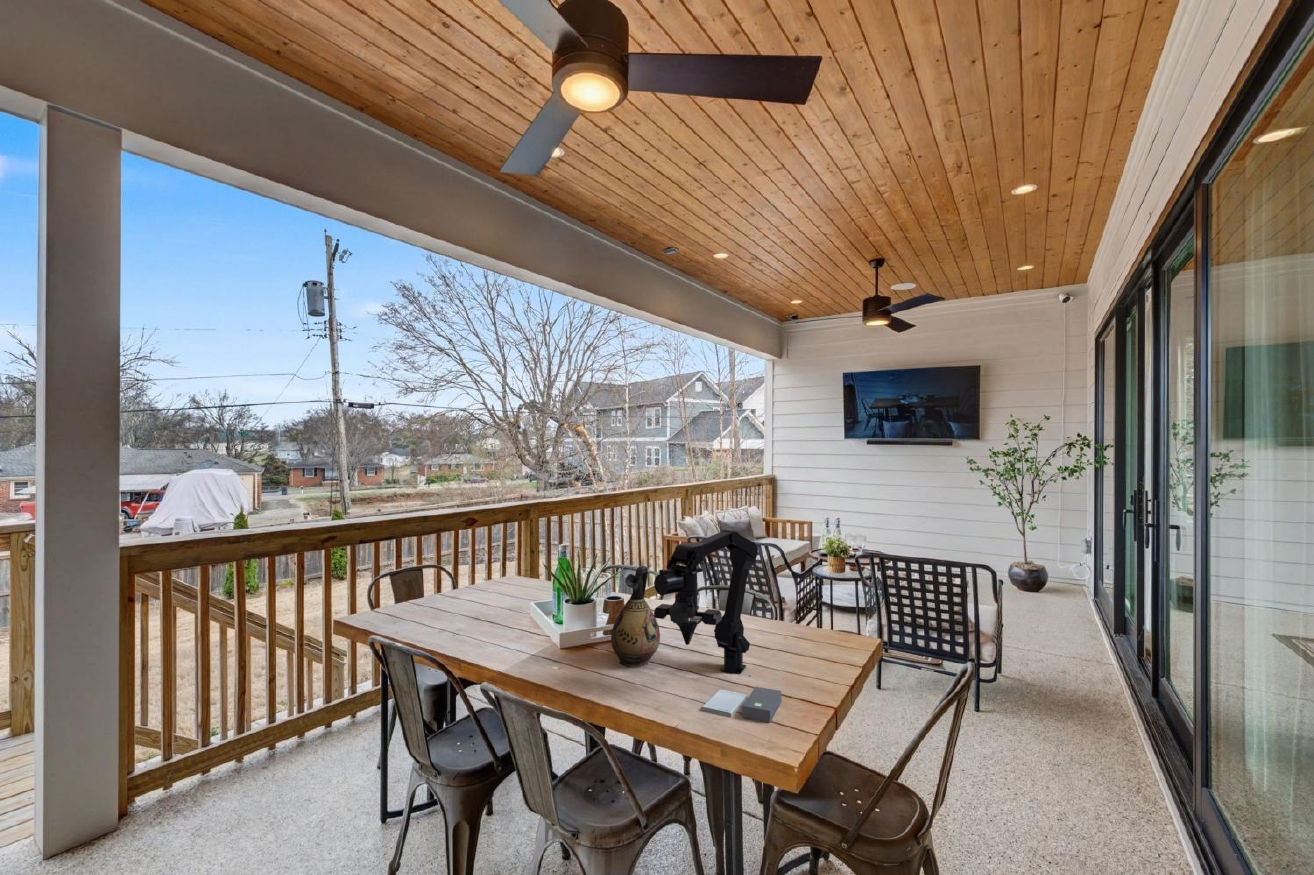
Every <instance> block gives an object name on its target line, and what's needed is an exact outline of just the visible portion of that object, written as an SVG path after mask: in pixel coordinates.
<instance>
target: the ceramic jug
mask: <svg viewBox="0 0 1314 875" xmlns="http://www.w3.org/2000/svg"><path fill="white" fill-rule="evenodd" d="M648 570H649V569H648V567H647V566H646V565H641V566H638V567H637V568H636V570H635V575H634V574H632V573H630V574H628V575H626V577H625V584H626V586H627V587H629V588H631V589H632V593H631V595H630V597H629V599H628V600H627V602H626V603H625V604H624V606H623V607H622V608H621V610H620V612H619V613H618V615H617V617H616V618H615V620H614V624H613V625H612V630H611V634H610V642H611V646H612V650H613V651H614V653H615V655H616V656H617V658H618V660H619V661H618V663H619V664H620V665H622V666H623V667H625V666H626V667H625V668H642V667H641V666H643V667H645V666H647V665H648V664H649V662H650V660H651V659H652V657H653V656H654V654H655V653H656V652H657V651H658V648H659V645H660V641H661V633H660V626H659V624H658V620H657V618H654V611H652V609H651V607H650V605H649V604H648V602H647V601H646V599H645V592H646V588H647V582H648V575H649V574H648V573H649V571H648ZM644 665H645V666H644Z"/></svg>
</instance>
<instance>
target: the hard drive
mask: <svg viewBox="0 0 1314 875" xmlns="http://www.w3.org/2000/svg"><path fill="white" fill-rule="evenodd" d="M747 698H748V695H747V694H746V693H745V694H744V693H740V692H734V691H730V690H729V691H728V690H724V689H718V690H717V691H716V692H715V693H714V694H713V695H712V696H711V697H710V698H709V699H708V700H707V701H706V703H704V704H703V705H702V706H701V711H702V712H706V713H711V714H716V715H719V714H721V715H720V716H724V715H725V716H724V717H729V718H732V717H733V716H734V715H733V714H735V713H736V712H737V711H738V710H739V709H740V708H741V707H742V706H743V701H746V700H747Z"/></svg>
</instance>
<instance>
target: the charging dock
mask: <svg viewBox="0 0 1314 875" xmlns="http://www.w3.org/2000/svg"><path fill="white" fill-rule="evenodd" d="M781 704H782V690H779V689H772V688H766V687H759V686H755V687H754V688H753V690H752V691H751V693H750V694H749V695H748V696H747V699H746V700H745V701H743V704H742V705H741V708H742V709H741V710H742V719H746V720H752V721H758V722H762V723H767V724H771V722H772V720H773V719H774V716H775V715H776V713H777V711H778V709H779V708H780V705H781ZM778 707H779V708H778Z"/></svg>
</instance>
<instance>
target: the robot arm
mask: <svg viewBox="0 0 1314 875" xmlns="http://www.w3.org/2000/svg"><path fill="white" fill-rule="evenodd" d="M724 548H725V549H726V550H728V551H729V560H730V563H731V567H732V570H731V576H730V580H729V586H728V591H727V592H728V593H727V598H726V603H725V609H724V613H723V615H722V611H721V610H719V609H712V608H707V609H706V610H704V611H698V610H700V605H698V596H699V595H700V592H699V591H698V573H702V572H703V571H704V570H703V569H702V568H701V567H700V566H699V565H700V564H701V563H703V562H704V561H705V558H706V557H707V556H708V555H711V554H713V553H715V552H717V551H720V550H721V549H724ZM758 553H759V549H758V546H757V543H756V542H754V541H752V540H750V539H748V538H746V537H745V536H743V535H741V534H740V533H739V532H738V531H736V530H733V529H732V530H731V529H722V530H721V531H719V532H718V533H715V534H713V535H710V536H708V537H706V538H703V539H701V540H698V541H697V542H684V543H679V544H677V545H676V546H675V547H674V550H673V553H672V555H671V557H670V558H669V561H668V563H667V565H666V569H664V568H663V569H659V572H658V573H659V574H658V575H656V577H655V579H654V581H653V586H654V589H655V592H656V593H657V594H658V595H659V596H666V595H671V594H675V593H676V594H675V597H674V598H675V599H674V602H673V603H672V604H666V603H662V604H660V605H658V606H657V607H655V608H654V610H653V614H654V618H656V619H659V620H660V619H661V620H664V619H665V618H667V616H669V618H670V622H672V623H673V624H676V625H677V626H678V628H679V630H680V632H681V635H682V637H683V641H684V644H685V645H686V646H689V645H690V644H691V641H692V639H693V636H694V633H695V630H696V629H697V627H698V625H699V624H700V623H703V624H704V625H707V626H715V627H714V630H713V632H714V639H715V640H716V643H717V648H721V649H723V665H722V666H721V667H720V668H719V669H720V671H721V672H727V673H734V674H742V673H743V672H744V671H745V669H746V668H747V665H746V664H743V663H744V659H743V658H744V654H746V653H747V652H748V651H749V650H750V647H751V646H750V645H751V643H750V642H749V640H748V639H747V638H746V637H745V635H744V632H745V631H744V629H745V627H744V624H743V620H742V618H741V616H742V609H743V606H744V598H745V593H746V588H747V581H748V576H749V572H750V570H751V568H753V566H754V564H755V563H756V560H757V556H758Z"/></svg>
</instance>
